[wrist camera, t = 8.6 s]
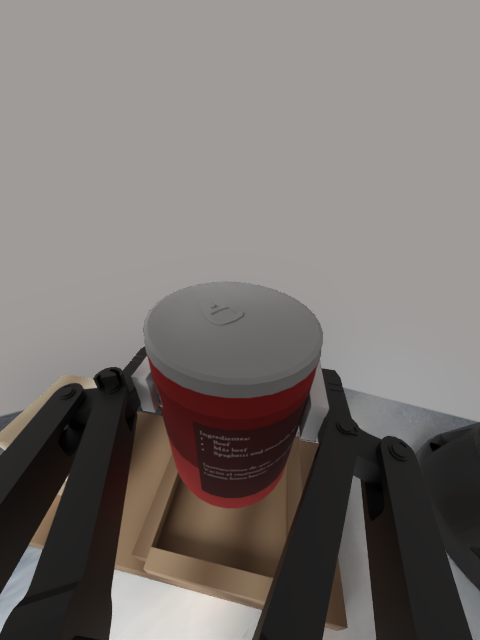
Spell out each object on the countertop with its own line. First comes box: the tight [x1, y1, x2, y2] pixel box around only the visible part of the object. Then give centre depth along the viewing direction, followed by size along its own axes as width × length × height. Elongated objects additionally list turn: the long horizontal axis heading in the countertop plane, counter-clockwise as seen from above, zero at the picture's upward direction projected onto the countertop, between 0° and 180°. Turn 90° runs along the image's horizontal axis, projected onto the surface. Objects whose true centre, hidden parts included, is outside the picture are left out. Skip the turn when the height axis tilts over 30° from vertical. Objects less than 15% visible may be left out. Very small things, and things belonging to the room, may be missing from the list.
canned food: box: [143, 282, 323, 508], centre depth 13 cm, size 8×8×11 cm
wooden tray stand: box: [0, 374, 348, 630], centre depth 19 cm, size 26×12×12 cm, turn 80°
